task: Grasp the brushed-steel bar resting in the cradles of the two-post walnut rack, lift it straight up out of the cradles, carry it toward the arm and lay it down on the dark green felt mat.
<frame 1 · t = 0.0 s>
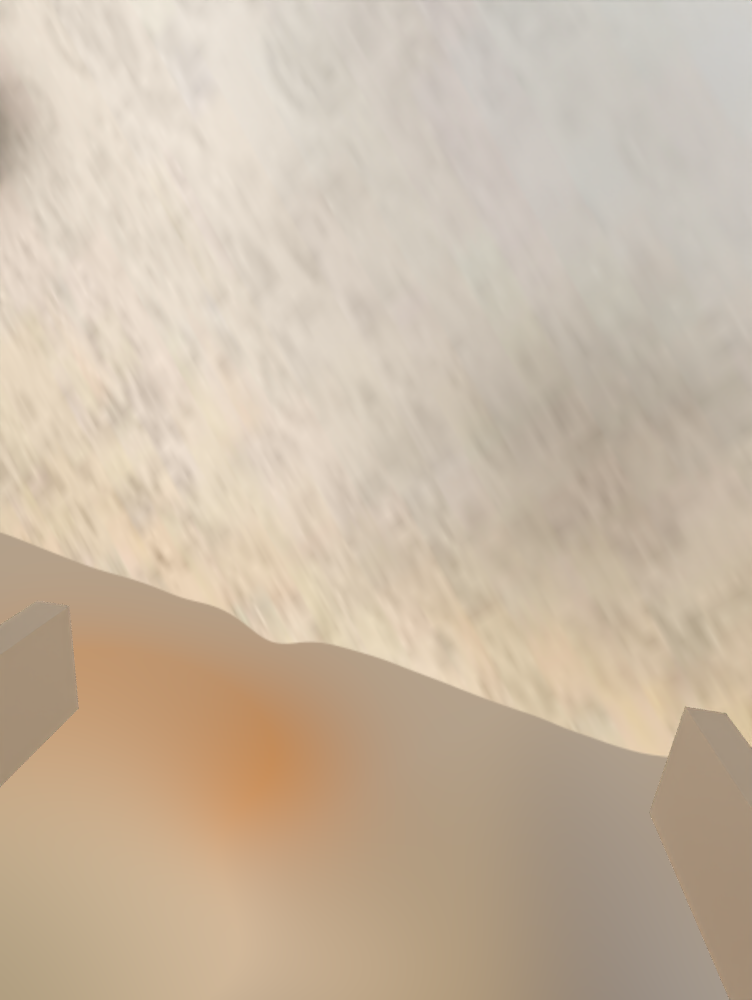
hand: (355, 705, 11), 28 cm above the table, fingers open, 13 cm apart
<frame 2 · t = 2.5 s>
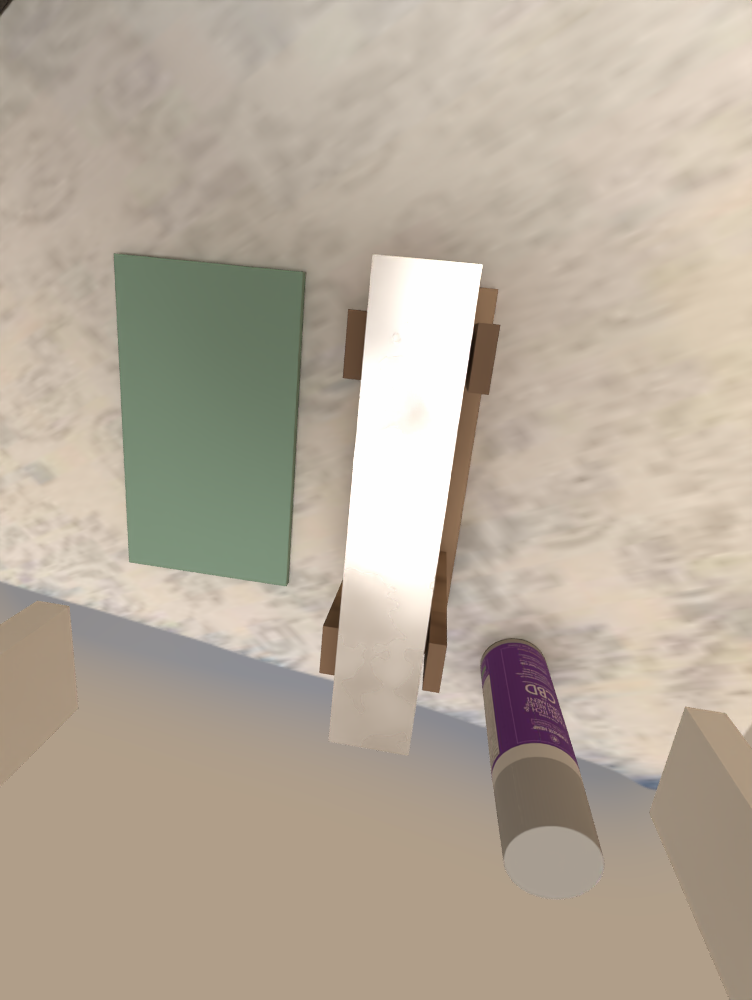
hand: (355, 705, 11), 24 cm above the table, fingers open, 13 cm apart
container: (512, 664, 38), on the table
rail: (403, 500, 25), point 9 cm above the table, touching rack
rack: (414, 457, 34), on the table
mat: (210, 431, 35), on the table
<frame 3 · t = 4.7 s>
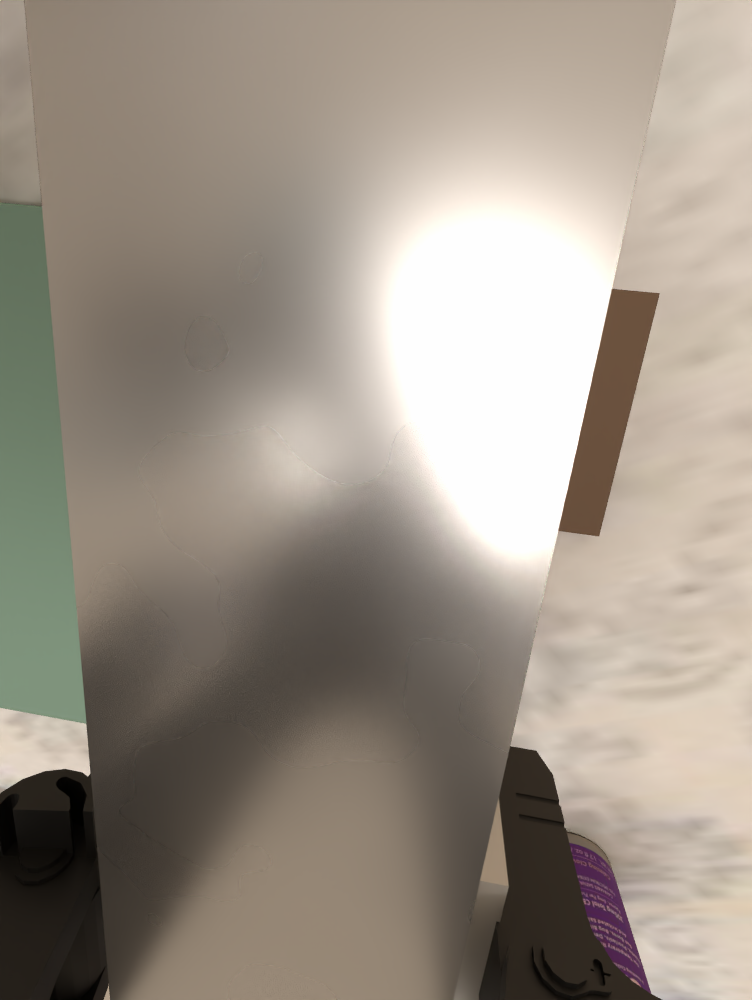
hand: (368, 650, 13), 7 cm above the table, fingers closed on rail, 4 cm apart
container: (556, 866, 24), on the table
rail: (351, 718, 11), point 10 cm above the table, touching gripper, rack
rack: (394, 546, 20), on the table
mat: (53, 497, 21), on the table
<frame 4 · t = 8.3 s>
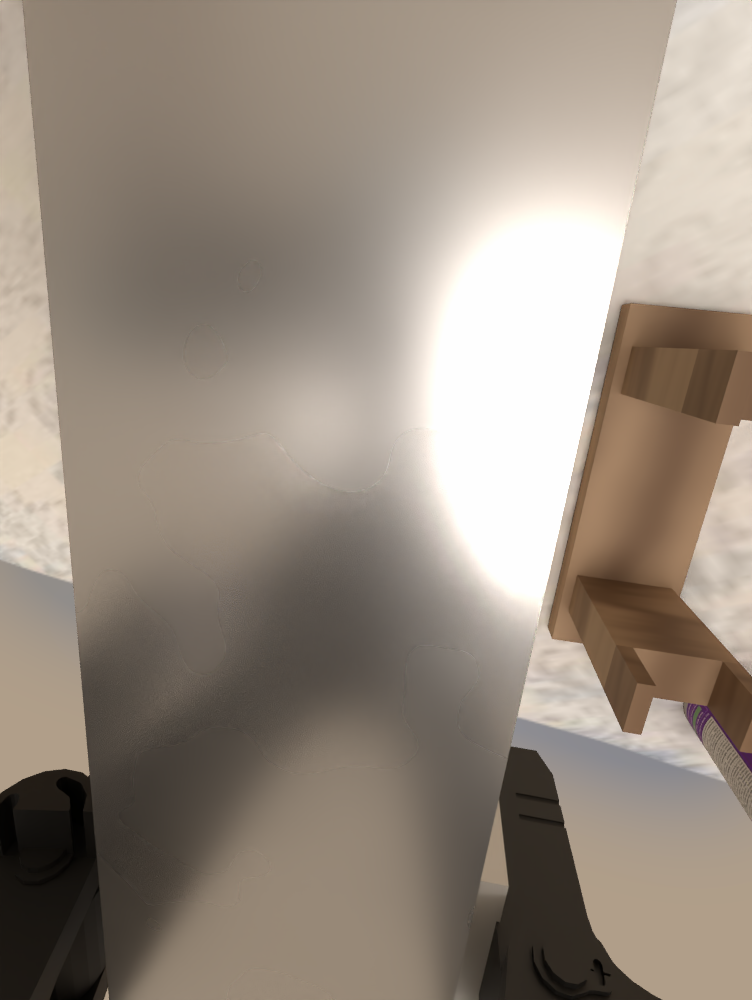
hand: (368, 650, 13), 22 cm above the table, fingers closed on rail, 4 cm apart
container: (718, 703, 36), on the table
rail: (351, 721, 11), point 24 cm above the table, touching gripper
rack: (638, 489, 32), on the table
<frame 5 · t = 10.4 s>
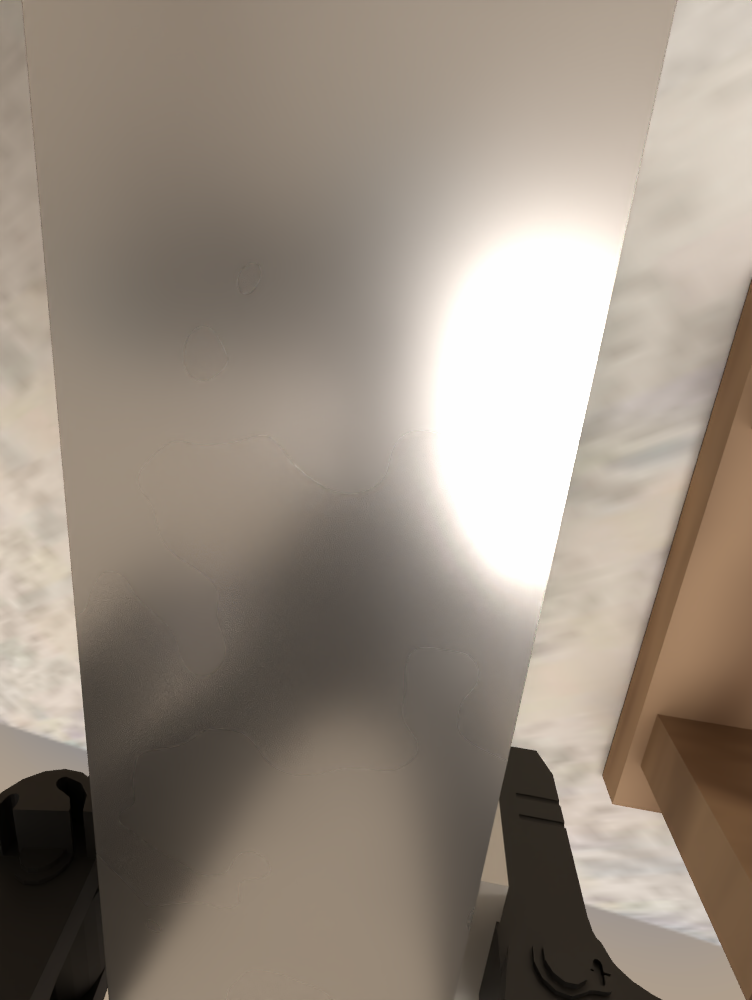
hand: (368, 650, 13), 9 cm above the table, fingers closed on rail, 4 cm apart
rail: (351, 721, 11), point 11 cm above the table, touching gripper
when the fingers open (2 cm above the table, at t = 12.0 s): rail drops 4 cm, resting on mat.
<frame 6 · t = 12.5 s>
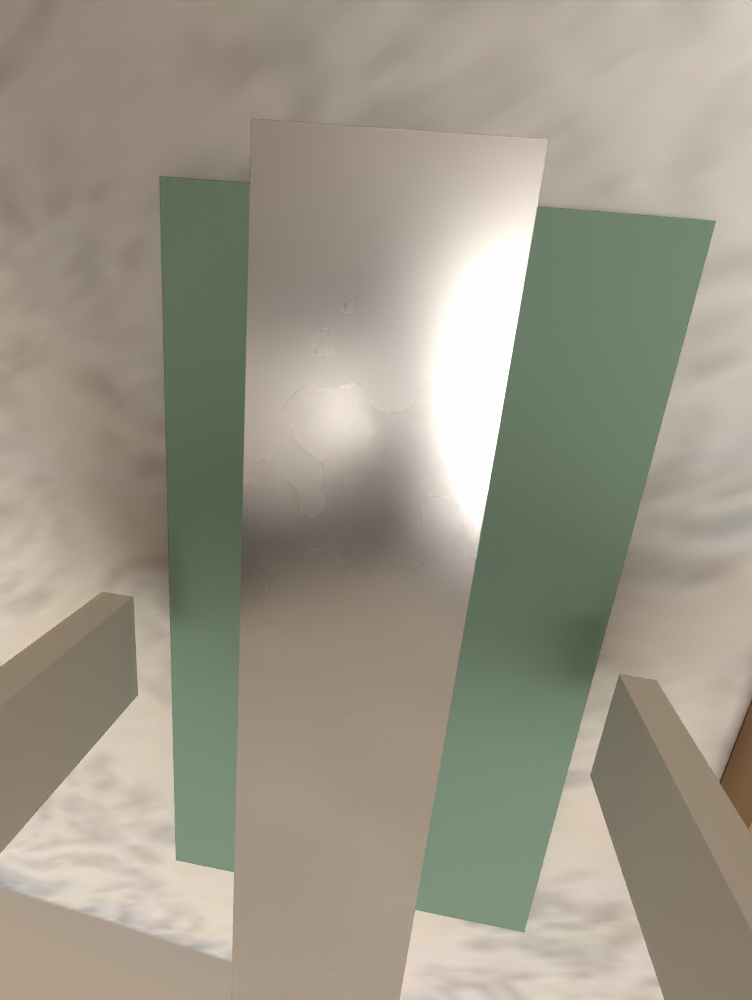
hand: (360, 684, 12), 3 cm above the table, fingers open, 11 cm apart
rail: (373, 624, 14), point 1 cm above the table, touching mat
mat: (378, 613, 15), on the table
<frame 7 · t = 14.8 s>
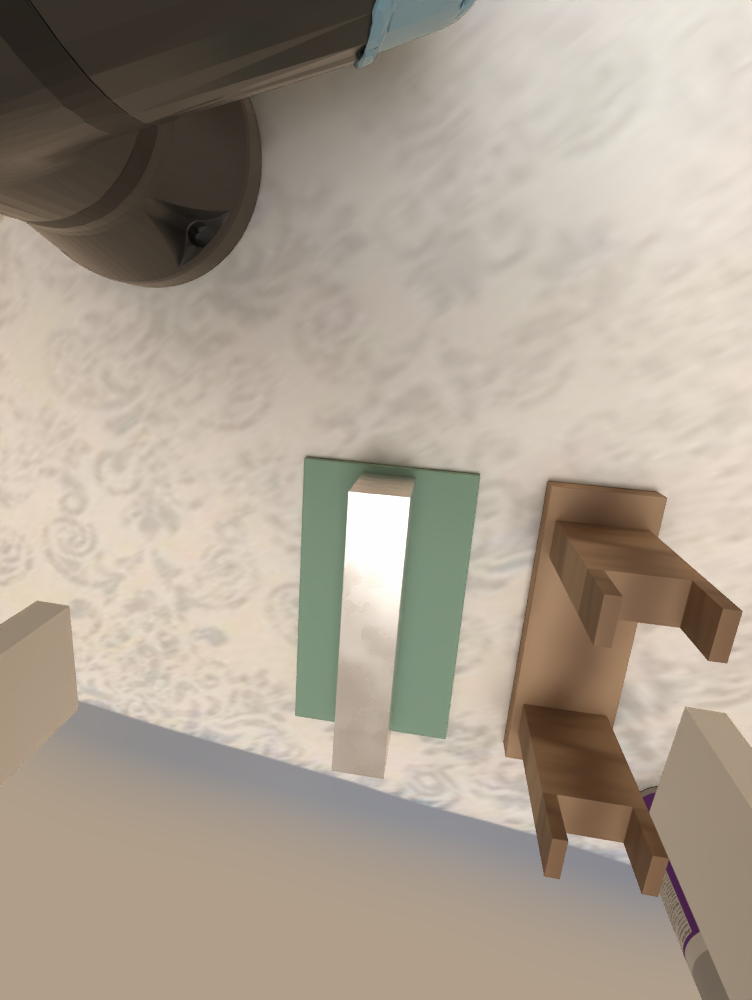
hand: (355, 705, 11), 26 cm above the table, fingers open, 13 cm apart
container: (659, 808, 40), on the table
rail: (378, 607, 38), point 1 cm above the table, touching mat
rack: (573, 628, 37), on the table
mat: (380, 603, 39), on the table
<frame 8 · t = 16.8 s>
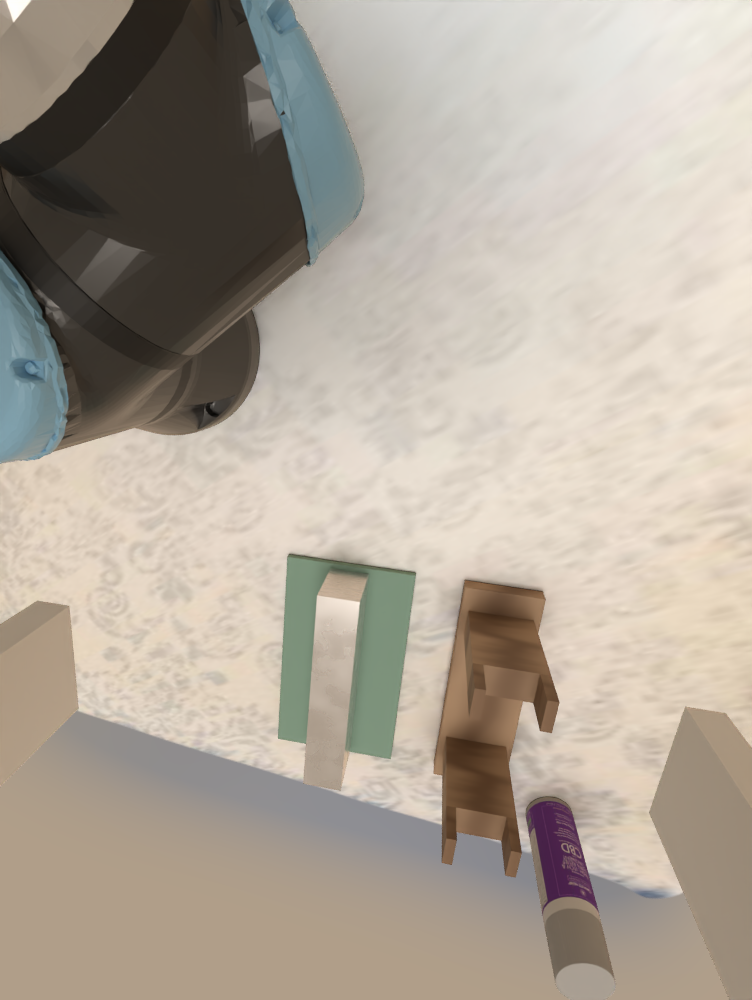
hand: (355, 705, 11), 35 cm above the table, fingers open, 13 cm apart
container: (548, 812, 54), on the table
rail: (341, 663, 51), point 1 cm above the table, touching mat
rack: (484, 682, 50), on the table
mat: (342, 659, 52), on the table
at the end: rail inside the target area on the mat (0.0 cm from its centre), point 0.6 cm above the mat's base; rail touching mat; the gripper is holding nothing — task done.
